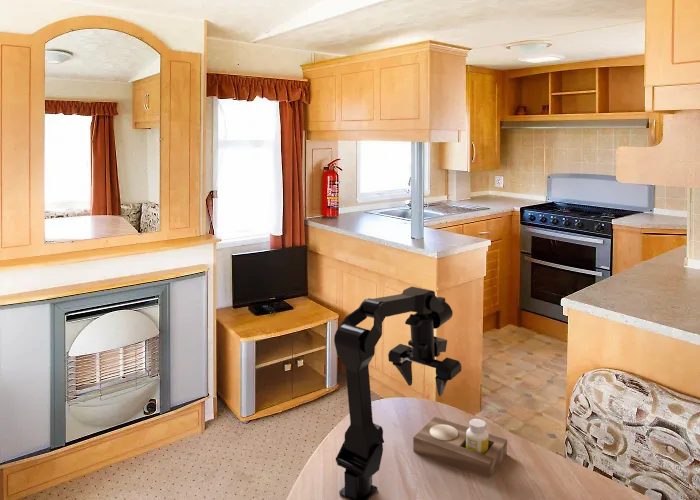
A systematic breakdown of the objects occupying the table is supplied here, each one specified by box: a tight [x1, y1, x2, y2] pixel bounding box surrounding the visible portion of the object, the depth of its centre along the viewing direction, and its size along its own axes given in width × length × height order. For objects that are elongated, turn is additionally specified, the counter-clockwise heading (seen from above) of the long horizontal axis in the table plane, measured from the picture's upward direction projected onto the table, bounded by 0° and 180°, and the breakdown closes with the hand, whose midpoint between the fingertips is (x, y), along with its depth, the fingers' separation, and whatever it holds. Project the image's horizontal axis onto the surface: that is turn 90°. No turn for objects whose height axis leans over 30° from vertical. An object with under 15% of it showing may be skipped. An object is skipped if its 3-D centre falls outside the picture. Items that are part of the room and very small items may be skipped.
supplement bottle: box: [466, 418, 489, 455], centre depth 131 cm, size 5×5×10 cm
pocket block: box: [412, 416, 508, 480], centre depth 134 cm, size 12×20×4 cm, turn 54°
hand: (425, 390), depth 138 cm, fingers open, 9 cm apart
